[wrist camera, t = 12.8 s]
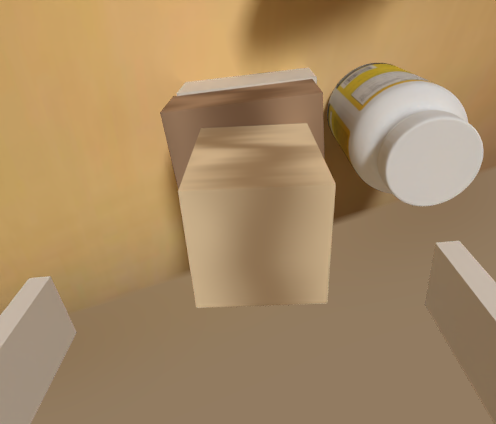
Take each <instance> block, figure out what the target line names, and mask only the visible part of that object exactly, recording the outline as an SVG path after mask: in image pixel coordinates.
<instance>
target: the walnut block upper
mask: <svg viewBox="0 0 496 424" xmlns="http://www.w3.org/2000/svg"><path fill="white" fill-rule="evenodd" d="M160 114H161V118H162V122H163V127H164V131H165V135H166V139H167V143H168V148H169V152H170V156H171V160H172V164H173V168H174V173H175V177H176V181H177V185H178V189H179V187H180V184H181V182H182V179H183V176H184V173H185V171H186V168H187V165H188V162H189V160H190V157H191V154H192V151H193V149H194V146H195V143H196V140H197V138H198V135H199V132H200V129H201V128H216V127H237V126H258V125H279V124H300V123H307V124H308V126H309V128H310V130H311V133H312V135H313V137H314V139H315V141H316V143H317V145H318V147H319V150H320V152H321V154H322V156H323V158H324V122H323V92H322V91H321V90H320V88H319V87H318V86H317V84H316V83H315V82H314V80H313V79H307V80H299V81H291V82H283V83H275V84H267V85H260V86H252V87H244V88H236V89H228V90H220V91H212V92H204V93H197V94H189V95H181V96H173V97H172V99H171V100H170V101H169V102H168V104H167V105H166V106H165V107H164V109H163V110H162V111H161V112H160Z"/></svg>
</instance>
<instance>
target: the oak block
mask: <svg viewBox="0 0 496 424" xmlns="http://www.w3.org/2000/svg"><path fill="white" fill-rule="evenodd" d="M335 189H336V184H335V181H334V179H333V177H332V175H331V173H330V171H329V169H328V167H327V164H326V162H325V160H324V158H323V156H322V154H321V152H320V150H319V147H318V145H317V143H316V141H315V139H314V137H313V135H312V133H311V130H310V128H309V126H308V124H307V123H300V124H279V125H258V126H237V127H216V128H201V129H200V132H199V135H198V138H197V140H196V143H195V146H194V149H193V151H192V154H191V157H190V160H189V162H188V165H187V168H186V171H185V173H184V176H183V179H182V182H181V184H180V187H179V190H178V194H179V201H180V207H181V214H182V220H183V226H184V233H185V239H186V245H187V252H188V258H189V265H190V271H191V277H192V283H193V290H194V296H195V303H196V308H209V307H235V306H264V305H292V304H320V303H327V298H328V285H329V270H330V256H331V244H332V230H333V216H334V203H335Z"/></svg>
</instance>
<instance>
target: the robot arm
mask: <svg viewBox="0 0 496 424" xmlns="http://www.w3.org/2000/svg"><path fill="white" fill-rule="evenodd" d="M425 306H426V308H427V309H428V311H429V313H430V314H431V316H432V318H433V320H434V321H435V323H436V325H437V327H438V328H439V330H440V332H441V333H442V335H443V337H444V339H445V340H446V342H447V344H448V345H449V347H450V349H451V351H452V352H453V354H454V356H455V357H456V359H457V361H458V363H459V364H460V366H461V368H462V369H463V371H464V373H465V375H466V376H467V378H468V380H469V381H470V383H471V385H472V387H473V388H474V390H475V392H476V393H477V395H478V397H479V399H480V400H481V402H482V404H483V405H484V407H485V409H486V411H487V412H488V414H489V416H490V418H491V419H492V421H493V423H494V424H496V282H495V281H494V280H493V279H492V278H491V277H490V276H489V274H488V273H487V272H486V271H485V270H484V269H483V267H482V266H481V265H480V264H479V263H478V262H477V261H476V259H475V258H473V256H472V255H471V254H470V253H469V251H467V249H466V248H465V247H464V246H463V245H462V243H461V242H460V241H451V242H440V243H435V249H434V255H433V260H432V267H431V272H430V278H429V284H428V289H427V295H426V301H425ZM75 334H76V330H75V328H74V326H73V324H72V321H71V319H70V317H69V315H68V313H67V311H66V309H65V306H64V304H63V302H62V300H61V298H60V296H59V294H58V291H57V289H56V287H55V285H54V283H53V281H52V278H51V276H48V277H37V278H29V279H28V280H27V282H26V283H25V284H24V285H23V287H22V288H21V289H20V291H19V292H18V293H17V295H16V296H15V297H14V298H13V300H12V301H11V302H10V304H9V305H8V306H7V308H6V309H5V310H4V311H3V313H2V314H1V315H0V424H30V423H31V422H32V420H33V418H34V416H35V414H36V412H37V410H38V408H39V406H40V404H41V402H42V400H43V398H44V396H45V394H46V392H47V390H48V388H49V386H50V384H51V382H52V380H53V378H54V376H55V374H56V372H57V370H58V368H59V366H60V364H61V362H62V360H63V358H64V356H65V354H66V352H67V350H68V348H69V346H70V344H71V342H72V340H73V338H74V336H75Z"/></svg>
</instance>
